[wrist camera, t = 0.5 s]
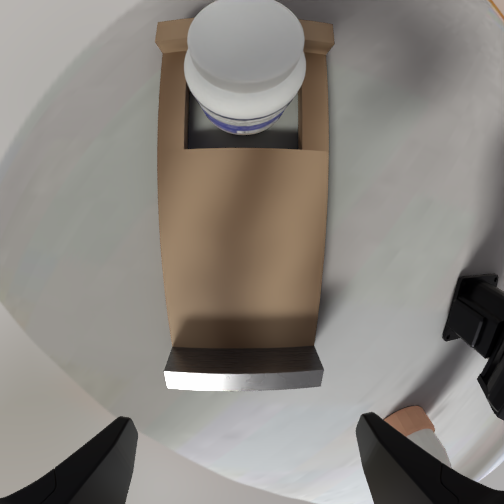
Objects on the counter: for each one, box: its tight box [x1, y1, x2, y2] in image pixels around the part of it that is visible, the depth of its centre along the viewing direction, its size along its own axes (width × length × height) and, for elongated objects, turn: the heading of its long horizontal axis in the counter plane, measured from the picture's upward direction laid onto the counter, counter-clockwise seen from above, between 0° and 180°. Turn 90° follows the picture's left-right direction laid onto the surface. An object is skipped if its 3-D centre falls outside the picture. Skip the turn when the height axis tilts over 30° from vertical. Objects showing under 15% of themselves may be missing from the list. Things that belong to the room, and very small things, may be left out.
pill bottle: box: [184, 0, 306, 135], centre depth 11 cm, size 5×5×9 cm
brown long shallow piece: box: [155, 18, 335, 391], centre depth 15 cm, size 10×22×4 cm, turn 0°
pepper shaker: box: [384, 406, 452, 469], centre depth 16 cm, size 7×7×19 cm
